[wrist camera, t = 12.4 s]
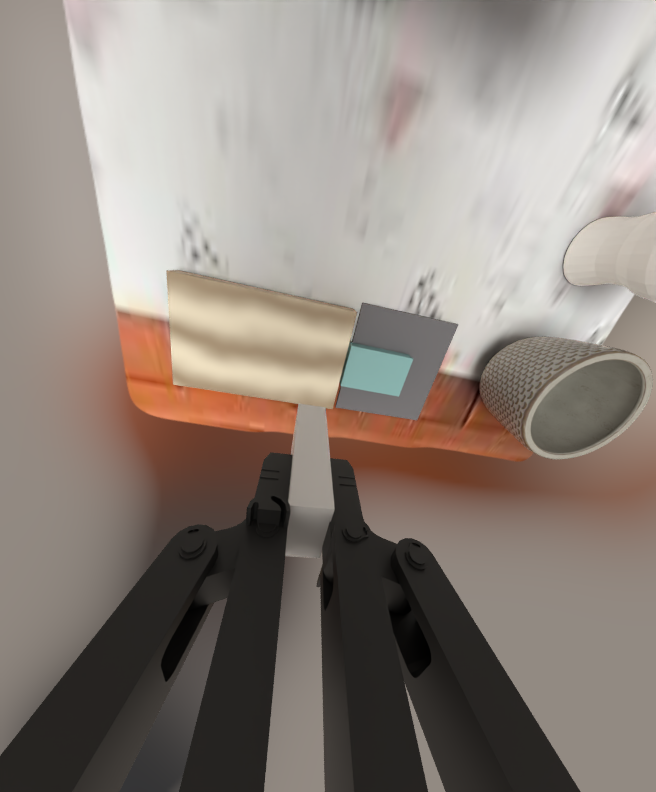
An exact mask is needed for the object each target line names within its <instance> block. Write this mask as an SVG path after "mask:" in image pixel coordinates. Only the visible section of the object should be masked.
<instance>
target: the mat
mask: <svg viewBox="0 0 656 792" xmlns="http://www.w3.org/2000/svg"><path fill="white" fill-rule="evenodd" d="M457 326H458V324H454V323H450V322H445V321H441V320H436V319H432V318H428V317H423V316H419V315H414V314H410V313H405V312H401V311H397V310H392V309H388V308H383V307H379V306H374V305H370V304H366V303H362V307H361V310H360V314H359V318H358V322H357V326H356V330H355V334H354V337H353V341H352V343H356V344H361V345H366V346H371V347H375V348H380V349H385V350H390V351H394V352H399V353H404V354H408V355H410V356H411V357H412V358H413V361H412V364H411V367H410V369H409V372H408V374H407V377H406V379H405V382H404V385H403V387H402V390H401V392H400V395H399V397H398V396H393V395H387V394H382V393H376V392H371V391H365V390H360V389H354V388H349V387H343V386H341V388H340V391H339V395H338V399H337V403H336V408H343V409H349V410H356V411H362V412H368V413H375V414H381V415H387V416H394V417H400V418H406V419H413V420H417V419H418V417H419V414H420V412H421V410H422V407H423V405H424V403H425V400H426V398H427V396H428V394H429V391H430V389H431V387H432V384H433V382H434V380H435V377H436V375H437V373H438V370H439V368H440V366H441V363H442V361H443V359H444V356H445V354H446V352H447V350H448V347H449V345H450V343H451V340H452V338H453V336H454V333H455V331H456V329H457Z"/></svg>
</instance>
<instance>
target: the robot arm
mask: <svg viewBox="0 0 656 792" xmlns="http://www.w3.org/2000/svg"><path fill="white" fill-rule="evenodd" d="M321 553H322V557H323V564H322V568H321V571H320V574H319V577H318V581H317V587H321V588H320V590H321V591H320V592H321V634H322V635H321V637H322V678H323V679H322V681H323V725H324V726H323V727H324V772H325V792H428V789H427V785H426V780H425V775H424V771H423V766H422V762H421V757H420V752H419V748H418V743H417V739H416V734H415V729H414V725H413V721H412V716H411V711H410V706H409V702H408V697H407V693H406V688H405V684H406V687H407V690H408V692H409V695H410V698H411V700H412V703H413V706H414V709H415V711H416V714H417V716H418V719H419V722H420V725H421V727H422V730H423V732H424V735H425V738H426V741H427V743H428V746H429V748H430V751H431V754H432V757H433V759H434V762H435V764H436V767H437V770H438V772H439V775H440V778H441V780H442V783H443V786H444V789H445V791H446V792H580V790H579V789H578V787H577V785H576V784H575V782H574V781H573V779H572V778H571V776H570V774H569V773H568V771H567V769H566V768H565V766H564V765H563V763H562V761H561V760H560V758H559V757H558V755H557V754H556V752H555V750H554V749H553V747H552V746H551V744H550V742H549V741H548V739H547V737H546V736H545V734H544V732H543V731H542V729H541V728H540V726H539V724H538V723H537V721H536V720H535V718H534V717H533V715H532V713H531V712H530V710H529V708H528V707H527V705H526V704H525V702H524V701H523V699H522V697H521V695H520V694H519V692H518V691H517V689H516V687H515V686H514V684H513V683H512V681H511V679H510V678H509V676H508V675H507V673H506V671H505V670H504V668H503V667H502V665H501V663H500V662H499V660H498V659H497V657H496V655H495V654H494V652H493V651H492V649H491V647H490V646H489V644H488V642H487V641H486V639H485V638H484V636H483V634H482V633H481V631H480V630H479V628H478V626H477V625H476V623H475V622H474V620H473V618H472V617H471V615H470V614H469V612H468V610H467V609H466V607H465V606H464V604H463V602H462V601H461V599H460V598H459V596H458V594H457V593H456V591H455V590H454V588H453V586H452V585H451V583H450V582H449V580H448V578H447V577H446V575H445V574H444V572H443V570H442V569H441V567H440V565H439V564H438V562H437V561H436V559H435V557H434V556H433V554H432V553H431V552H430V551H429V549H428V548H427V547H426V546H425V545H423V544H422V543H421V542H419V541H417V540H414V539H412V538H409V539H408V538H405V539H403V540H400V541H399V543H398V544H396V543H393V542H391V541H388V540H386V539H383V538H381V537H379V536H377V535H376V534H374V533H373V532H372V531H371V530H370V528H369V526H368V525H367V524H366V523H365V522H364V519H363V516H362V511H361V506H360V501H359V496H358V491H357V488H356V481H355V476H354V471H353V468H352V466H351V465H350V463H349V462H348V461H347V460H341V459H332V458H330V452H329V441H328V430H327V419H326V408H325V407H320V406H312V405H305V404H299V405H298V411H297V417H296V423H295V430H294V436H293V442H292V451H291V455H288V454H280V453H270V454H269V455H268V456H267V457H266V458H265V459H264V462H263V466H262V470H261V474H260V479H259V482H258V486H257V491H256V495H255V498H254V499H252V500H251V501H250V503H249V505H248V507H247V515H246V519H245V520H244V521H243V522H242V523H240V524H238V525H237V526H234V527H231V528H228V529H224V530H220V531H214V529H212V528H210V527H209V526H207V525H194V526H189V527H187V528H185V529H183V530H182V531H180V532H178V533H177V534H176V535H175V536H174V537H173V538H172V539H171V540H170V542H169V543H168V544H167V545H166V547H165V548H164V549H163V550H162V552H161V553H160V554H159V555H158V557H157V558H156V559H155V561H154V562H153V563H152V564H151V566H150V567H149V568H148V569H147V571H146V572H145V573H144V575H143V576H142V577H141V578H140V580H139V581H138V582H137V583H136V585H135V586H134V587H133V588H132V590H131V591H130V592H129V593H128V595H127V596H126V597H125V599H124V600H123V601H122V602H121V604H120V605H119V606H118V607H117V609H116V610H115V611H114V613H113V614H112V615H111V616H110V618H109V619H108V620H107V621H106V623H105V624H104V625H103V626H102V628H101V629H100V630H99V632H98V633H97V634H96V635H95V637H94V638H93V639H92V640H91V642H90V643H89V644H88V645H87V647H86V648H85V649H84V650H83V652H82V653H81V654H80V656H79V657H78V658H77V660H76V661H75V662H74V663H73V664H72V666H71V667H70V668H69V670H68V671H67V672H66V673H65V675H64V676H63V677H62V678H61V680H60V681H59V682H58V684H57V685H56V686H55V687H54V688H53V690H52V691H51V692H50V694H49V695H48V696H47V697H46V699H45V700H44V701H43V702H42V704H41V705H40V706H39V708H38V709H37V710H36V711H35V713H34V714H33V715H32V716H31V718H30V719H29V720H28V721H27V723H26V724H25V725H24V726H23V728H22V729H21V730H20V732H19V733H18V734H17V735H16V737H15V738H14V739H13V740H12V742H11V743H10V744H9V746H8V747H7V748H6V749H5V750H4V752H3V753H2V754H1V756H0V792H119V791H120V789H121V787H122V785H123V783H124V781H125V779H126V777H127V775H128V773H129V771H130V769H131V767H132V765H133V763H134V761H135V759H136V757H137V755H138V753H139V751H140V749H141V747H142V745H143V743H144V741H145V739H146V737H147V735H148V733H149V731H150V729H151V727H152V725H153V723H154V721H155V719H156V717H157V715H158V713H159V711H160V709H161V707H162V705H163V703H164V701H165V699H166V697H167V695H168V693H169V691H170V689H171V687H172V686H173V684H174V682H175V680H176V678H177V676H178V674H179V672H180V669H181V668H182V666H183V664H184V662H185V660H186V658H187V656H188V654H189V652H190V650H191V648H192V646H193V644H194V642H195V640H196V638H197V636H198V634H199V632H200V630H201V628H202V626H203V624H204V622H205V620H206V618H207V616H208V614H209V612H210V610H211V608H212V606H213V604H214V602H216V601H219V600H222V599H225V598H228V599H227V603H226V606H225V610H224V614H223V619H222V622H221V626H220V630H219V634H218V638H217V643H216V646H215V650H214V654H213V658H212V662H211V666H210V670H209V674H208V678H207V682H206V686H205V691H204V694H203V698H202V702H201V706H200V710H199V714H198V718H197V722H196V726H195V730H194V734H193V738H192V742H191V746H190V750H189V754H188V758H187V762H186V766H185V770H184V774H183V778H182V782H181V786H180V790H179V792H264V783H265V772H266V761H267V750H268V739H269V727H270V717H271V705H272V694H273V684H274V673H275V662H276V650H277V640H278V629H279V618H280V606H281V595H282V585H283V574H284V562H285V556H294V557H312V558H320V556H321ZM404 682H405V683H404Z"/></svg>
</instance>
